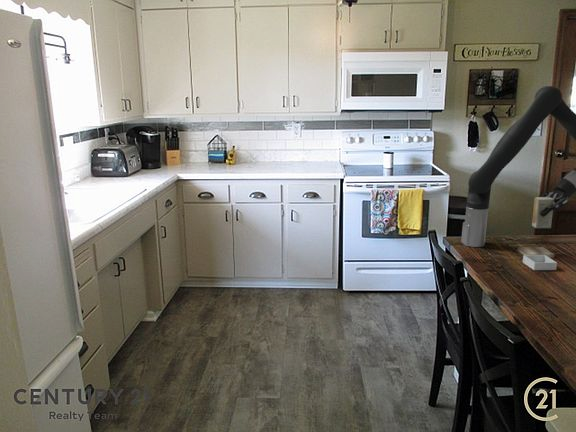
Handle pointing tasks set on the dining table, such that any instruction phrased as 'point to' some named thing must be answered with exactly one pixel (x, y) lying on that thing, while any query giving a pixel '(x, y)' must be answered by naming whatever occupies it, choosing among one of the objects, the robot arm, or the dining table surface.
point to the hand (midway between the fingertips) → (537, 213)
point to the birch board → (535, 251)
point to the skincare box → (539, 206)
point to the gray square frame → (539, 262)
